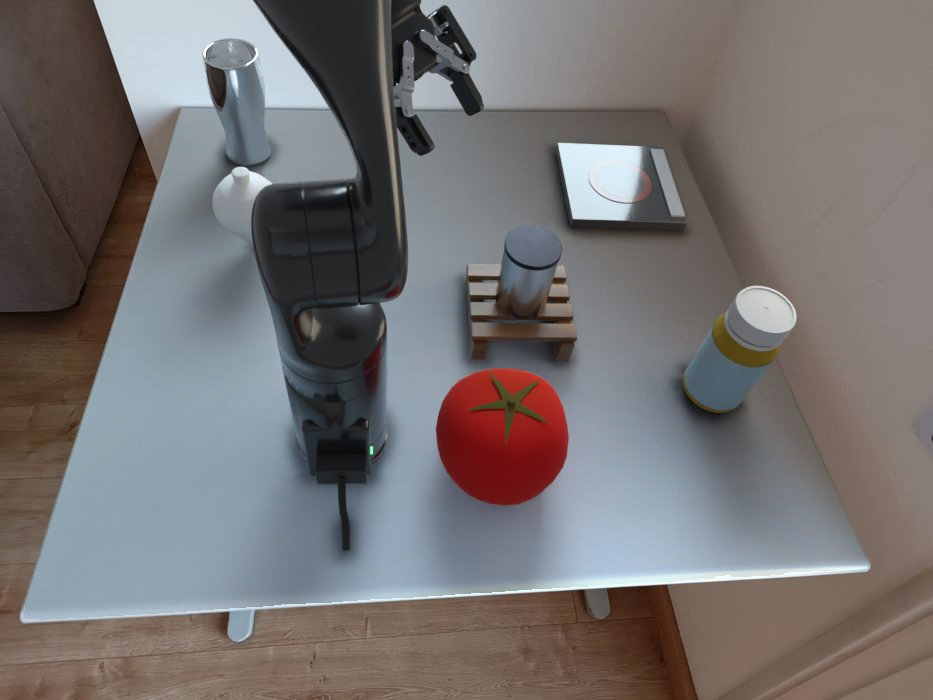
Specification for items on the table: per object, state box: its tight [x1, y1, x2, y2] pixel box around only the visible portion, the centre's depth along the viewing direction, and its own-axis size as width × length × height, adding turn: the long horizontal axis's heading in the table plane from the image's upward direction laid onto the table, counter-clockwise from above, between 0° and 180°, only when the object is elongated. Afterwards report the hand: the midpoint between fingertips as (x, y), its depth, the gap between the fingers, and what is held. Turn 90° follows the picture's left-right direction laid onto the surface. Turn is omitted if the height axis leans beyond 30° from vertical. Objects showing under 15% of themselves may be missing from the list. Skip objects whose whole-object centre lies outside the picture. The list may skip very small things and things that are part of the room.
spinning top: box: [211, 166, 273, 244], centre depth 85 cm, size 8×8×12 cm
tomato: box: [435, 367, 570, 507], centre depth 70 cm, size 13×14×12 cm
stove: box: [555, 142, 688, 231], centre depth 101 cm, size 16×16×2 cm
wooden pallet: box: [465, 263, 578, 361], centre depth 85 cm, size 12×12×4 cm
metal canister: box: [495, 224, 563, 319], centre depth 80 cm, size 6×6×9 cm
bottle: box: [682, 285, 798, 414], centre depth 77 cm, size 7×7×15 cm
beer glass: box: [201, 38, 272, 167], centre depth 93 cm, size 7×7×15 cm
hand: (453, 131), depth 72 cm, fingers open, 8 cm apart
